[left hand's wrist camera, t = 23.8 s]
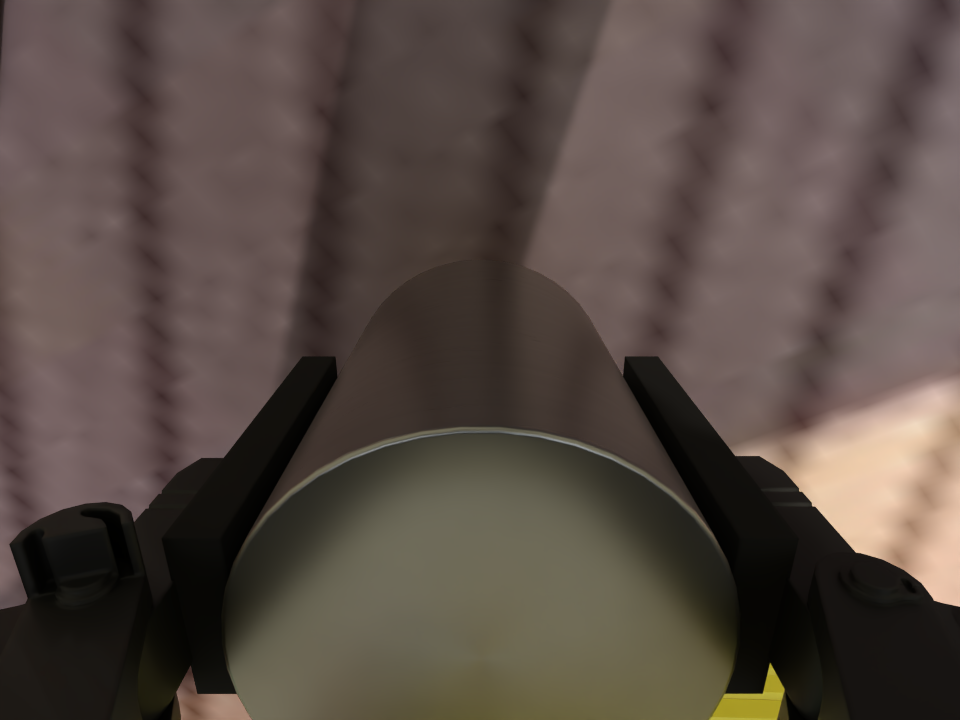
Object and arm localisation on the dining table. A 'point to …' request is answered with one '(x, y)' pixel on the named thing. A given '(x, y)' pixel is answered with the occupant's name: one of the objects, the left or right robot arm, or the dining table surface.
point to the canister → (480, 530)
